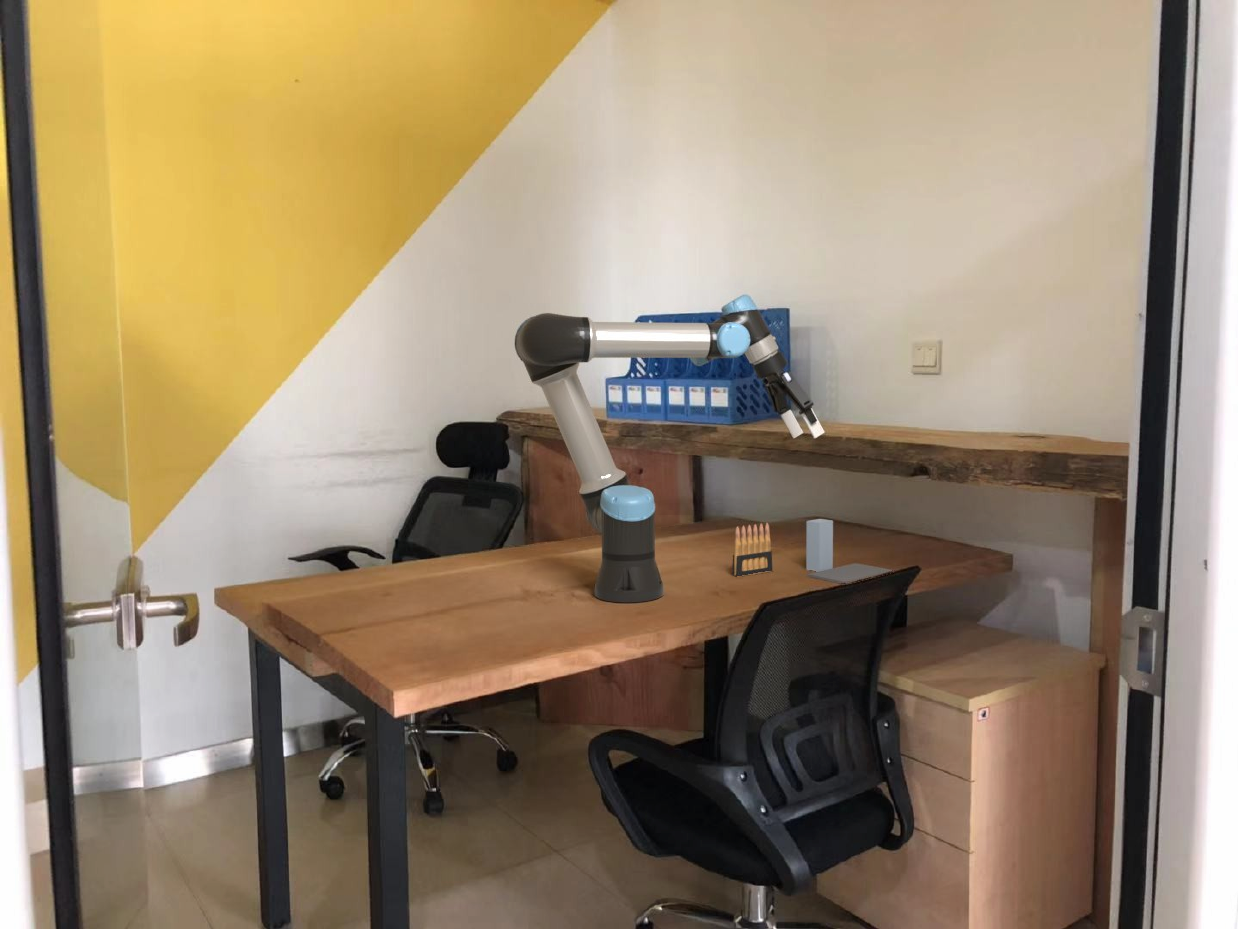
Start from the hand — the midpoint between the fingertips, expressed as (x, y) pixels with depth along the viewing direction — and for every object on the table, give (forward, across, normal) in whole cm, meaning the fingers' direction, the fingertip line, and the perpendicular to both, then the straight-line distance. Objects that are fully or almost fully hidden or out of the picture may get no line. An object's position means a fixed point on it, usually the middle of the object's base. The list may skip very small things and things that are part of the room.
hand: (808, 435), depth 225 cm
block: (+30, +3, +13) cm, 33 cm away
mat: (+33, -4, +8) cm, 34 cm away
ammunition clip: (+22, +3, +28) cm, 36 cm away
